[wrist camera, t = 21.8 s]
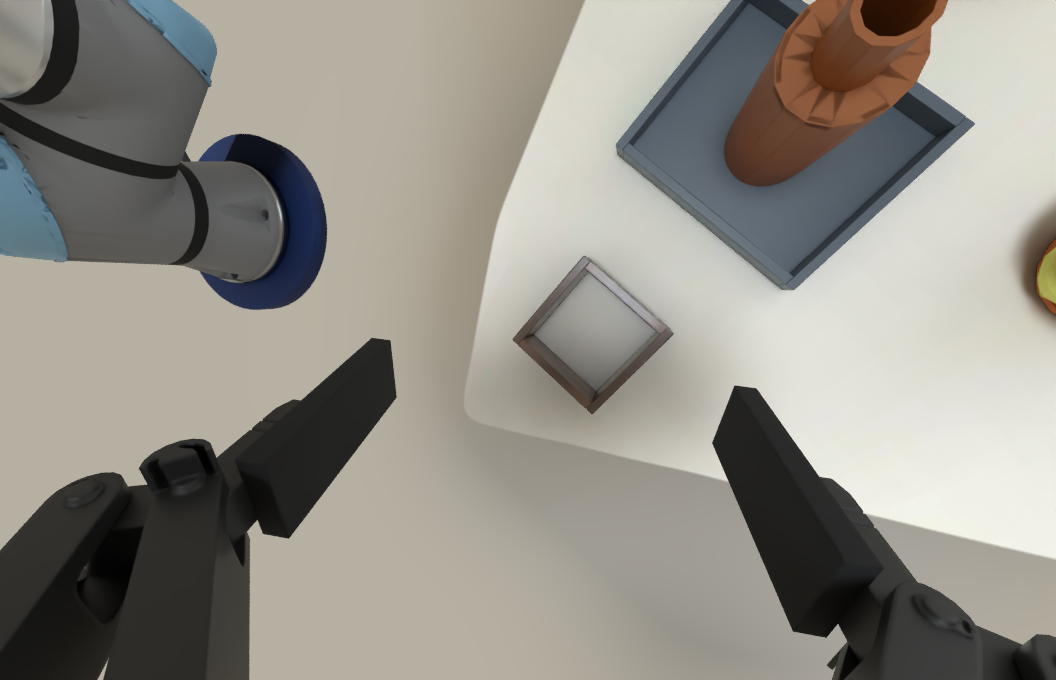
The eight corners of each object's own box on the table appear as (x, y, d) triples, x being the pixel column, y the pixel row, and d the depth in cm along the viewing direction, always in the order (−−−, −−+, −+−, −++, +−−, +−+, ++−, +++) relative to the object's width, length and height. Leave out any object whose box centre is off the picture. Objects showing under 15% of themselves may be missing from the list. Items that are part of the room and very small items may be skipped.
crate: (523, 334, 41) (512, 339, 37) (589, 258, 38) (583, 255, 34) (596, 402, 40) (592, 414, 36) (670, 329, 37) (674, 334, 33)
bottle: (706, 154, 33) (769, 31, 17) (768, 83, 31) (905, -130, 15) (767, 202, 33) (893, 122, 17) (835, 133, 31) (1054, -36, 15)
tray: (617, 154, 36) (615, 144, 34) (747, -8, 32) (756, -33, 29) (782, 290, 34) (793, 290, 31) (948, 136, 29) (976, 123, 27)
